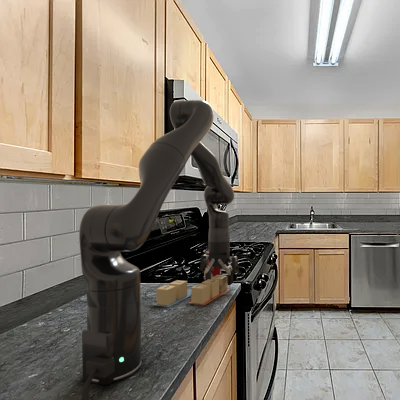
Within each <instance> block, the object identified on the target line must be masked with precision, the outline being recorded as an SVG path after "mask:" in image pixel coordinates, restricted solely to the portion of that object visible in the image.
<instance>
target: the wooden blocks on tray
mask: <svg viewBox="0 0 400 400" xmlns="http://www.w3.org/2000/svg"><path fill="white" fill-rule="evenodd" d="M190 289H191V296H190V299H191V300H190V301H189V302H188V304H192V305H201V306H206V305H208V304H209V303H210V302H212V301H214V300H215V299H217V298H219V297H220V296H222V295H224V294H226V292H229V291H230V290H231V288H227V290H225V291H223V292H219V280H211V279H208V280H206V281H205V280H204V281H202V282H201V283H198V284H195V285H194V286H192V287H190Z"/></svg>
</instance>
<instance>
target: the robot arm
mask: <svg viewBox="0 0 400 400" xmlns="http://www.w3.org/2000/svg"><path fill="white" fill-rule="evenodd" d="M214 115H215V114H214V110H213V107H212V106H211V104H210V103H209V102H207V101H206V100H202V99H201V100H200V99H192V100H191V99H188V100H187V99H186V100H175V101H173V102H172V103H171V106H170V108H169V118H170V122H171V124H172V126H173V128H174V129H173V130H171V131H169V132H167V133H165V134H163V135H161V136H160V137H158V138H156V139H155V140H154V141H153V142H151V144H150V145H149V146H148V148H147V149H146V151H145V152H144V153H143V155H142V156H141V157H140V159H139V162H138V176H139V181H140V186H139V188H138V190H137V192H136V193H135V194H134V196H133V197H132V198H131V199H130V200H129V202H127V203H126V204H98V205H94V206H91V207H90V208H88V209H87V210H86V211H85V212H84V214H83V215H82V218H81V220H80V224H79V230H78V241H79V255H80V267H81V273H82V276H83V278H84V280H85V282H86V329H83V330H82V332H81V352H82V353H81V355H82V358H81V359H82V360H81V361H82V363H81V364H82V365H81V367H82V381H83V382H84V385H83V387H82V391H81V400H89V387H90V385H91V383H94V384H97V385H98V384H99V385H104V386H110V385H111V384H113V383H115V382H117V381H121V380H123V379H126V378H128V377H130V376H132V375H133V374H135V373H136V372H138V371H139V370H140V368H141V367H142V365H143V360H142V312H141V311H142V308H141V304H142V303H141V300H142V299H141V297H142V294H141V291H142V290H141V288H142V287H141V280H142V279H141V270H140V268H139V267H138V266H136V265H134V264H132V263H130V262H129V261H127V260H126V259H125V257H123V255H122V254H121V253H125V252H126V253H127V252H135V251H136V250H138V249H140V248H141V247H142V246H143V245H144V243H145V242H146V241H147V240H148V237H149V236H150V234H151V231H152V229H153V228H154V225H155V223H156V220H157V218H158V216H159V213H160V211H161V209H162V206H163V205H164V202H165V201H166V198H167V197H168V195H169V193H170V192H171V189H172V188H173V186H174V185H175V183H176V181H177V180H178V179H179V177H180V175H181V174H182V172H183V170H184V168H185V167H186V164H187V162H188V161H189V159H190V157H191V158H192V159H193V161H194V163H195V166H196V167H197V170H198V172H199V175H200V177H201V179H202V182H203V183H204V185H205V186H206V187H205V188H204V191H203V198H204V202H205V205H206V209H207V213H208V227H209V228H208V240H207V241H208V247H207V248H208V249H207V251H209V255H207V254H206V253H204V254H201V255H200V265H199V270H200V272H203V273H204V272H205V280H204V281H206V280H208V279H211V270H212V269H213V268H217V267H218V268H221V269H223V271H225V272H226V273H227V275H226V276H227V286H232V284H233V283H234V275H235V274H237V273H238V272H239V257H238V256H237V255H234V256H231V255H230V253H231V252H230V251H231V233H230V214H229V212H228V211H226V210H223V209H220V208H218V206H217V205H230V204H231V203H233V202H234V199H235V191H234V189H233V187H232V185H231V183H230V182H229V181H228V180H227V178H226V176H225V175H224V174H223V171H222V168H221V166H220V163H219V160H218V159H217V157H216V155H215V154H214V153H213V152H212V151H210V149H209V148H208V147H206V146H205V144H203V143H202V140H203V139H204V138H205V137H206V136H207V134H208V133H209V132H210V130H211V128H212V126H213V123H214ZM208 259H209V261H210V263H209V265H208V266H207V260H208Z"/></svg>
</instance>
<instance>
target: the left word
mask: <svg viewBox="0 0 400 400" xmlns="http://www.w3.org/2000/svg"><path fill="white" fill-rule="evenodd" d="M155 293H156V294H155V295H156V302H155V303H152V304H151V306H157V307H166V308H169V307H172V306H173V305H175V304H177V303H180V302H181V301H183V300H185V299H187V298H189V297H191V288H188V280H178V279H176V280H174V281H172V282H169V283H168V284H164V285H162V286H159V287H157V288H156V290H155Z"/></svg>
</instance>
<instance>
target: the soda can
mask: <svg viewBox="0 0 400 400" xmlns="http://www.w3.org/2000/svg"><path fill="white" fill-rule="evenodd" d="M205 254H207V255H209V251H208V250H206V251H205ZM209 263H210V261H209V259H208V260H207V266H208V265H209ZM216 275H222V268H218V267H217V268H213V269H212V270H211V278H212V277H214V276H216ZM203 280H204V281H205V272H203Z"/></svg>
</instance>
